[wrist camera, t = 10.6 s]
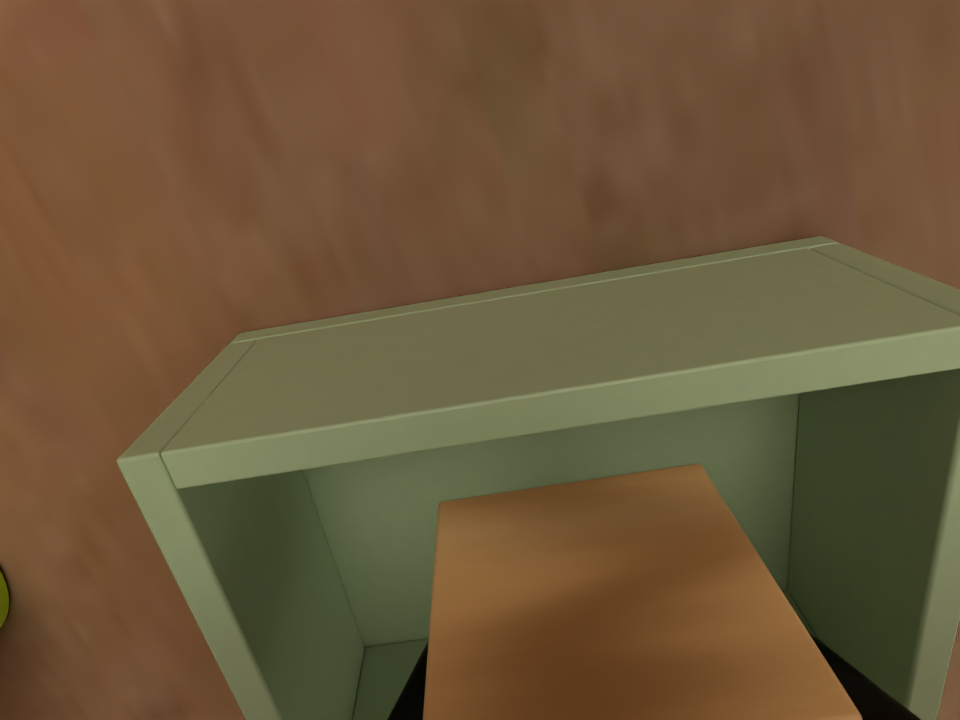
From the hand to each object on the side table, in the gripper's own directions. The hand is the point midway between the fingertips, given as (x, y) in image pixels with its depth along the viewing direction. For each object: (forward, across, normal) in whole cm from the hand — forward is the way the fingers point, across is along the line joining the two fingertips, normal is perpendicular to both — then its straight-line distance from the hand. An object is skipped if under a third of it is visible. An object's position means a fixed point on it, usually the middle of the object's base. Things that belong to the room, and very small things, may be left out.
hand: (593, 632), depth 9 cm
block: (+1, 0, 0) cm, 1 cm away
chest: (+7, 0, +2) cm, 7 cm away
